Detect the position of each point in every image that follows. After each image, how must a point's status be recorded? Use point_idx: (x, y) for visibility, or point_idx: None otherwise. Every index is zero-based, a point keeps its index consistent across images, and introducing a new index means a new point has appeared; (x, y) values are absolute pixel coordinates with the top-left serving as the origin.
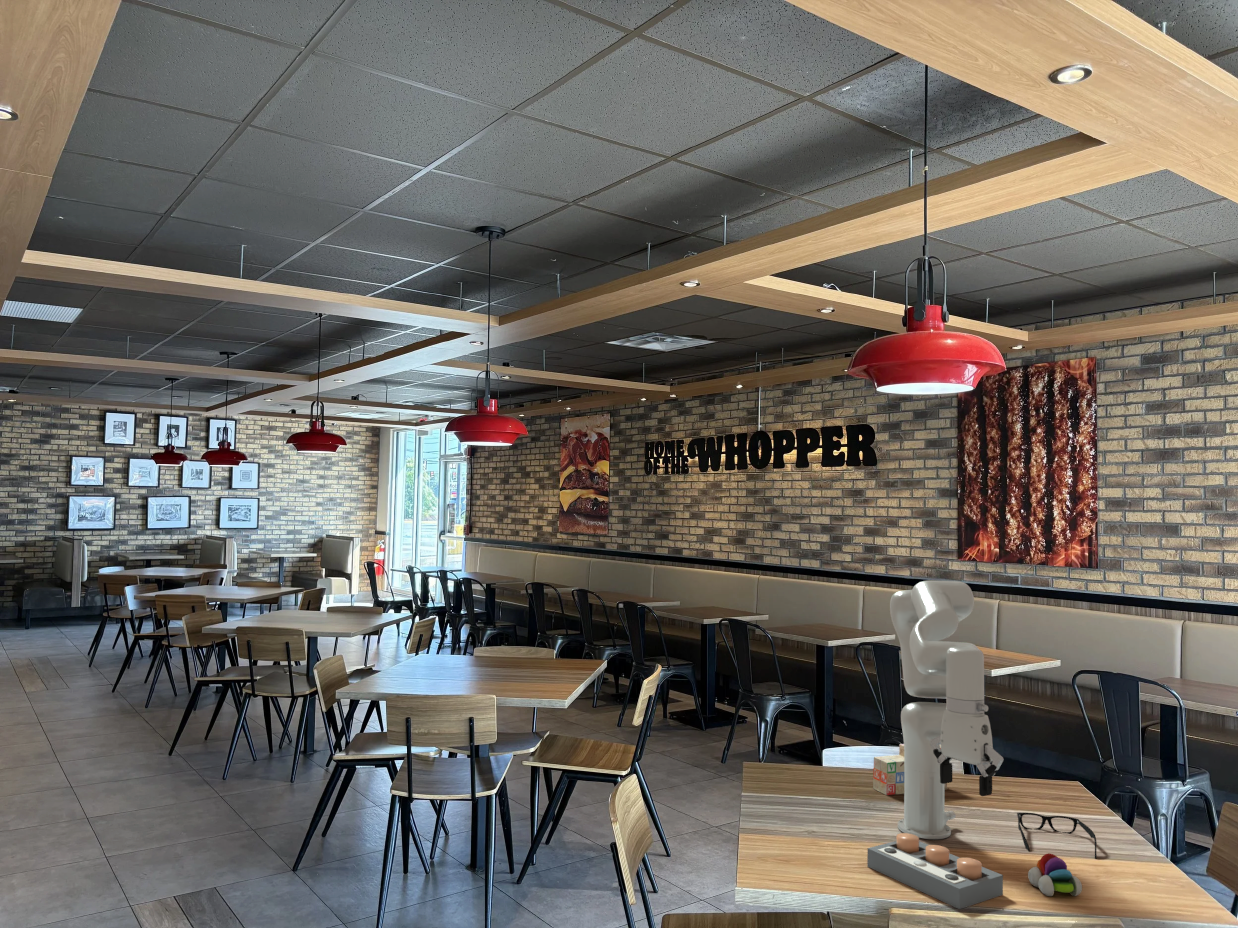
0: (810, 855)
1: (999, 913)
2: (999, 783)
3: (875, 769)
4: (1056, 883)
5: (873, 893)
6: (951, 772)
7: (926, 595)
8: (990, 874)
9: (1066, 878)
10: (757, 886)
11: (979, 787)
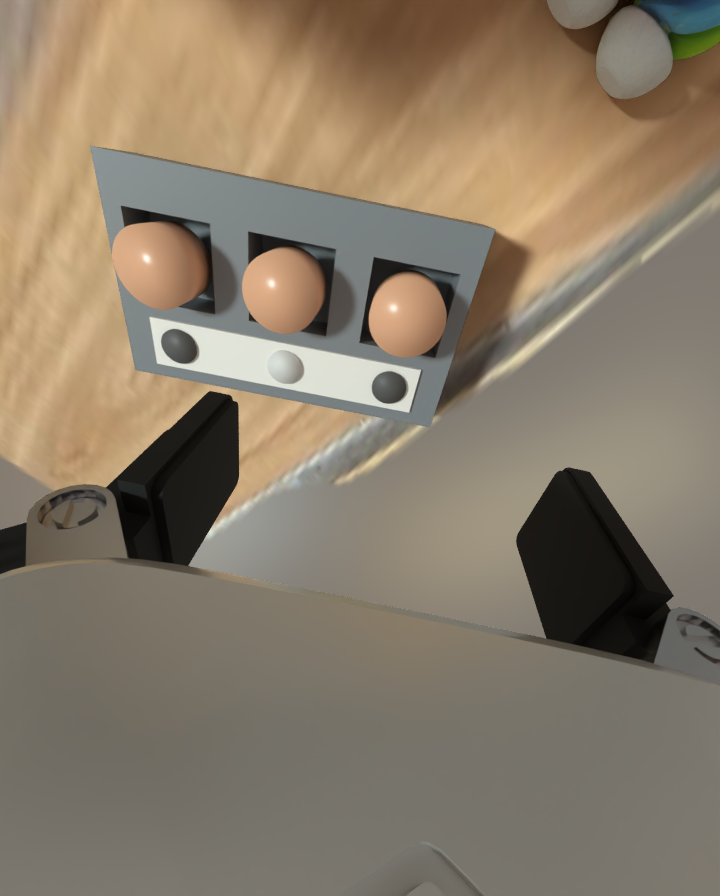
0: (64, 396)
1: (506, 356)
2: None
3: None
4: (686, 38)
5: (276, 459)
6: (205, 449)
7: None
8: (460, 262)
9: None
10: None
11: (528, 577)
